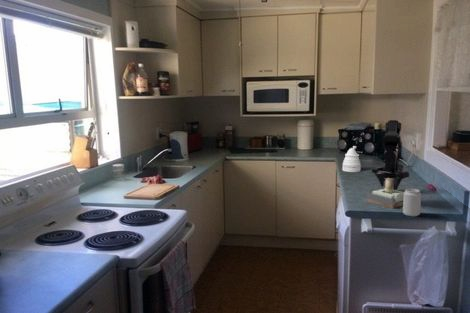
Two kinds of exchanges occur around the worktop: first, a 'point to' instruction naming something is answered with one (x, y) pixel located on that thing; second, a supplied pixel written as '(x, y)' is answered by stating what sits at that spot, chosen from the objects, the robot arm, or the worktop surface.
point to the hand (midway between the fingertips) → (389, 188)
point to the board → (383, 200)
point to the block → (395, 195)
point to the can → (412, 202)
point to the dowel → (389, 185)
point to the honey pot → (351, 161)
